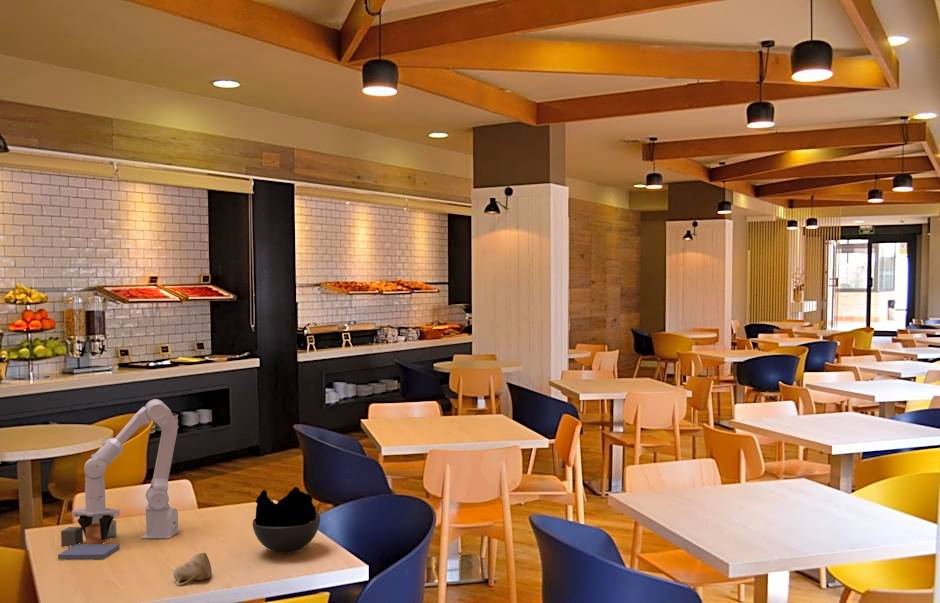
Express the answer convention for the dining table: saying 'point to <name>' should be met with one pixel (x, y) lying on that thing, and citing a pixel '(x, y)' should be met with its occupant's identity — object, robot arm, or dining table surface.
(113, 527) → the grey cube
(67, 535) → the black rubber block
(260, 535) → the bowl of black rocks
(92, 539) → the terracotta block
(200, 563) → the beige lumpy soft piece
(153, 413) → the robot arm
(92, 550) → the blue-grey rectangular slab
